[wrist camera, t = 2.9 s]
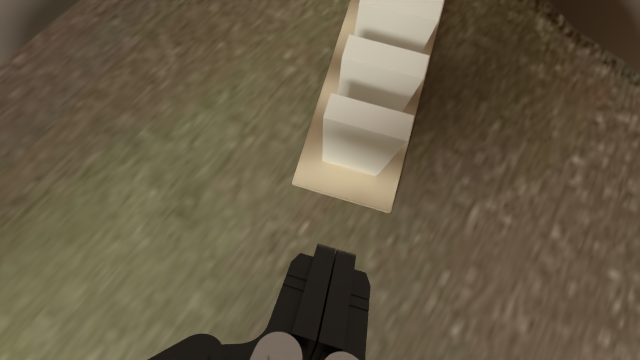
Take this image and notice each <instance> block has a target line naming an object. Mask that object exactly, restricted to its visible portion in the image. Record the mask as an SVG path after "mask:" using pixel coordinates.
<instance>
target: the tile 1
mask: <svg viewBox="0 0 640 360" xmlns="http://www.w3.org/2000/svg"><path fill="white" fill-rule="evenodd" d="M413 118H414V115H410V114H406V113H403V112H399V111H395V110H392V109H388V108H385V107H381V106H377V105H374V104H370V103H366V102H363V101H359V100H355V99H352V98H348V97H345V96H341V95H337V94H334V93H331V94H330V97H329V100H328V103H327V107H326V110H325V113H324V116H323V155H322V161H325V162H328V163H332V164H335V165H339V166H342V167H345V168H349V169H352V170H356V171H359V172H363V173H366V174H370V175H373V176H377V175H378V174H379V173H380V172H381V171H382V169H383V168H384V167H385V166H386V165H387V164H388V163H389V162H390V160H391V159H392V158H393V157H394V156H395V155H396V154H397V153H398V151H399V150H400V149H401V148H402V147H403V146H404V145H405V143H406V142H407V141H408V138H409V134H410V130H411V126H412V122H413Z"/></svg>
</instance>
